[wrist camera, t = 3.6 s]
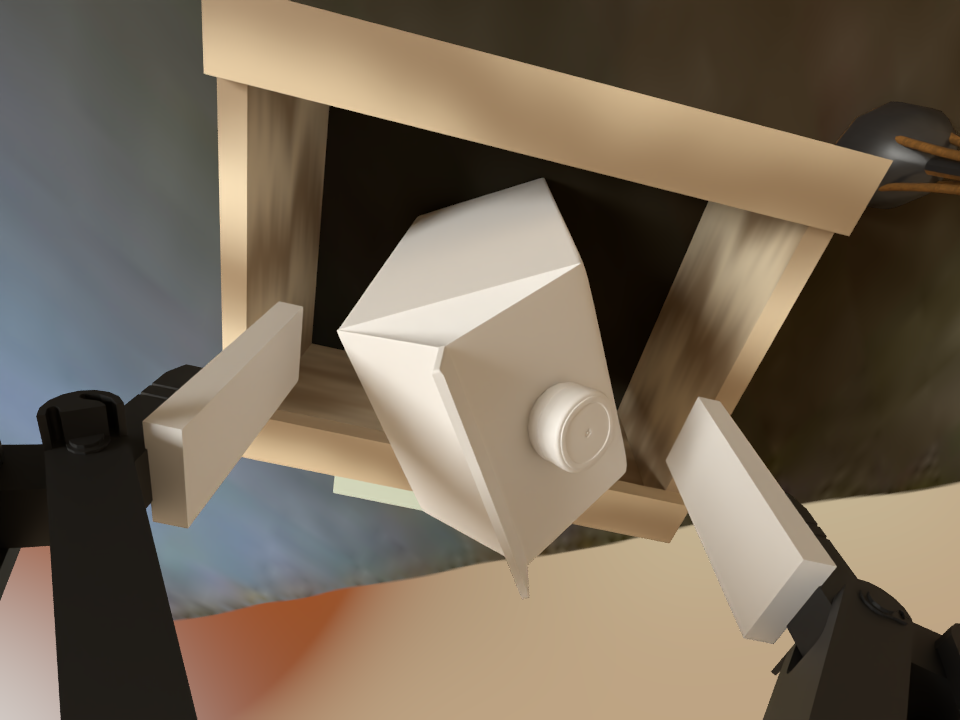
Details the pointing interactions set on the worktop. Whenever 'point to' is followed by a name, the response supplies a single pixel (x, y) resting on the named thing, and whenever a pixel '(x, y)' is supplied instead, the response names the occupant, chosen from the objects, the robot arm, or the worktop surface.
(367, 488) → the place mat
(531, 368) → the milk carton
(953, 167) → the wooden tabletop sculpture
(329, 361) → the crate
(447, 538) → the worktop surface
